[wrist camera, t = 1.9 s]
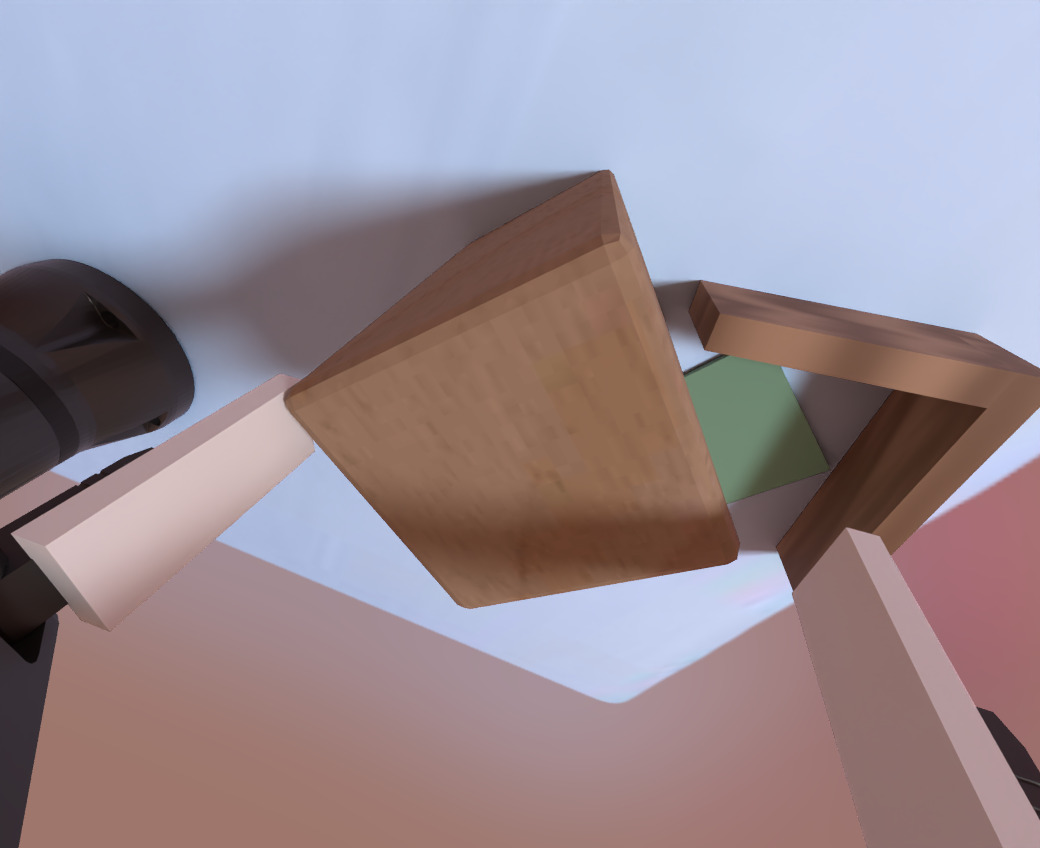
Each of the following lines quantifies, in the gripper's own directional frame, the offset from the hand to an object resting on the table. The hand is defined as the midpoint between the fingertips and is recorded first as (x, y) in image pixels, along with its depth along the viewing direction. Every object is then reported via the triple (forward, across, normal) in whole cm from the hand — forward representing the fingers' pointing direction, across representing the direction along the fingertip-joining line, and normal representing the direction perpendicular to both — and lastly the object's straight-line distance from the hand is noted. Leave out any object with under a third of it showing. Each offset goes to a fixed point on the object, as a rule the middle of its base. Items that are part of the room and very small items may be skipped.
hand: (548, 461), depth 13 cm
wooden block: (+18, -3, 0) cm, 19 cm away
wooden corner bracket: (+19, +13, -8) cm, 25 cm away
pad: (+19, +10, -9) cm, 23 cm away
